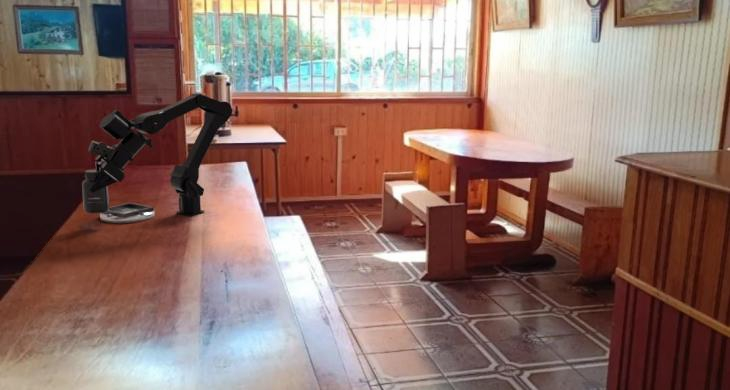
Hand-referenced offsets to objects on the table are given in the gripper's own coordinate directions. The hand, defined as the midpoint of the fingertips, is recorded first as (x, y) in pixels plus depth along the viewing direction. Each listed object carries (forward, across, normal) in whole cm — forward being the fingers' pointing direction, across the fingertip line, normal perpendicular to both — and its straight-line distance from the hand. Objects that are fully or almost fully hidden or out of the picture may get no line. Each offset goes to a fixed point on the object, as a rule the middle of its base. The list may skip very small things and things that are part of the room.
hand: (89, 189), depth 181 cm
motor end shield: (0, -9, +16) cm, 18 cm away
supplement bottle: (+4, 0, +6) cm, 7 cm away
